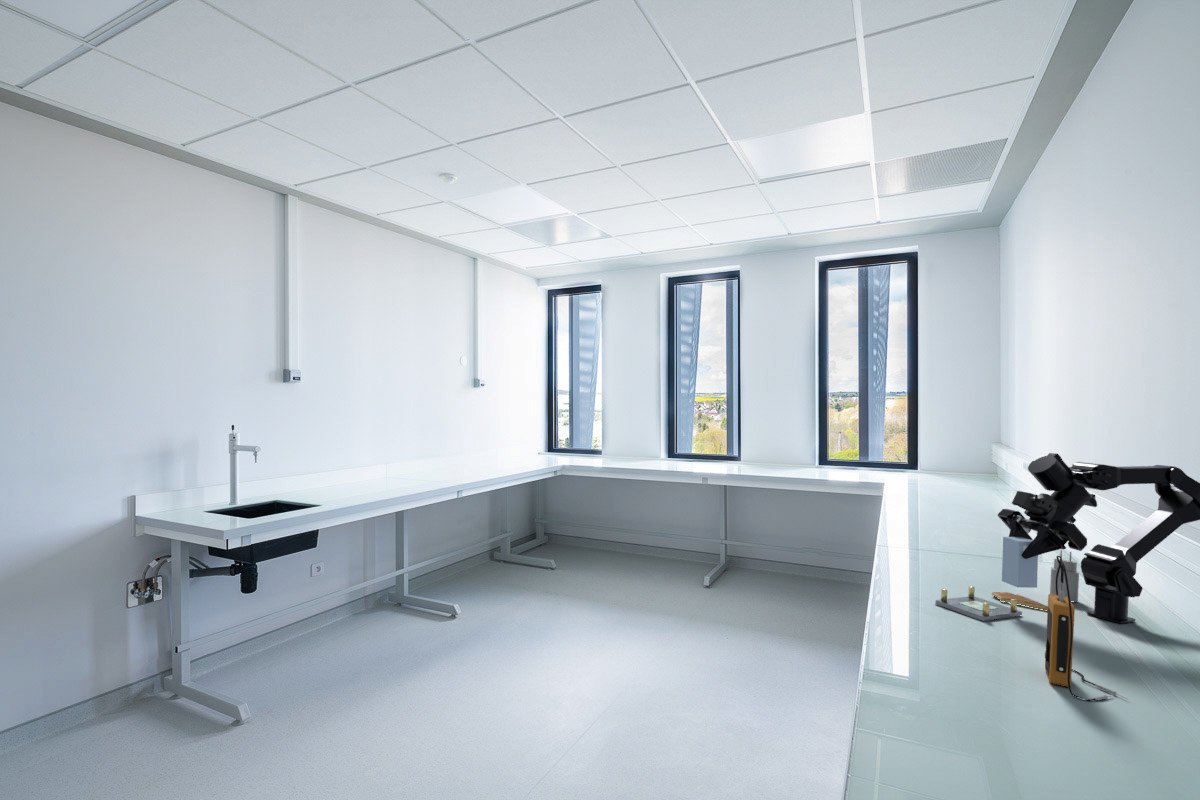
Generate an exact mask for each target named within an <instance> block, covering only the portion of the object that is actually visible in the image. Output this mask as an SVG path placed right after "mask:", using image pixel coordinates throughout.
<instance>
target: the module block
mask: <svg viewBox="0 0 1200 800" xmlns="http://www.w3.org/2000/svg"><path fill="white" fill-rule="evenodd" d="M1033 540H1034V539H1033ZM1033 540H1030V539H1027V538H1023V537H1009V536H1002V563H1001V564H1002V567H1001V582H1003V583H1005V584H1009V585H1011V586H1013V587H1016V588H1027V589H1028V588H1033V589H1034V588H1038V567H1039V566H1038V564H1039V561H1038V559H1039V555H1037V556H1034V557H1031V558H1028V559H1024V558H1023V557H1022V553H1023V552H1024V551H1025V549H1026V548H1027V547H1028V546H1029V544H1030V543H1031V542H1032V541H1033Z"/></svg>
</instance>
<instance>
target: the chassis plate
mask: <svg viewBox="0 0 1200 800" xmlns="http://www.w3.org/2000/svg"><path fill="white" fill-rule="evenodd" d="M975 590H976V589H975V586H972V585H969V586H968V594H967V596H961V597H952V598H948V589H945V588H941V590H940V591H941V593H940V599H936V600H935V606H938V605H939V606H938V607H941V606H942V607H941V608H944V607H945V608H944V609H947V608H948V610H949V609H951V610H950V611H952V610H954V611H953V612H955V611H956V612H955V613H958V614H962V615H964V616H967V617H969V618H972V619H975V620H978V621H980V620H982V621H981V622H983V621H984V622H989V621H988V620H992V621H997V620H996V619H999V620H1003V619H1002V618H1006V619H1010V618H1009V617H1013V618H1016V617H1015V616H1020V615H1022V616H1023V612H1022V611H1020V610H1018V606H1017V600H1015V599H1011V604H1009V605H1010V607H1009V606H1005V605H1002V604H1000V603H996V602H994V601H990V600H986V599H984V598H980V597H978V596H975ZM1020 617H1021V616H1020ZM994 619H995V620H994Z"/></svg>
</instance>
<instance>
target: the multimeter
mask: <svg viewBox="0 0 1200 800" xmlns="http://www.w3.org/2000/svg"><path fill="white" fill-rule="evenodd" d="M1055 559H1057V560H1058V563H1059V567H1058V570H1057V575H1056V594H1057V595H1053V594H1050V593H1049V594H1048V595H1047V596H1048V597H1047V606H1048V612H1047V617H1046V637H1045V652H1044V669H1045V670H1046V671H1045V672H1046V676H1047V678H1048V682H1049V684H1052V683H1053V684H1052V685H1056V684H1057V685H1056V686H1060V685H1061V687H1064V686H1066V688H1068V690H1069V693H1070V695H1072V696H1073V695H1074V696H1073V697H1075V696H1076V697H1075V698H1077V697H1080V698H1082V697H1081V696H1079V695H1076V694H1074V693H1073V690H1072V689H1071V687H1072V673H1073V672H1074V671H1075V672H1074V673H1076V672H1077V673H1076V674H1078V675H1080V676H1081V681H1084V682H1085V683H1088V684H1091V685H1092V686H1095V687H1096V688H1099V689H1100V690H1103V691H1105V692H1107V693H1110V694H1109V695H1107V694H1103V695H1100V696H1096V697H1094V698H1091V699H1088V700H1094V701H1095V700H1098V701H1101V700H1102V699H1103V700H1108V699H1109V697H1114V696H1119V697H1121V698H1124V699H1126V700H1129V698H1128V697H1126V696H1124V695H1122V694H1120V693H1117V691H1116V690H1112V689H1111V688H1110V689H1109V688H1107V687H1105V686H1103V685H1100V684H1097V683H1094V682H1091V681H1088V680H1086V679H1084V678H1085V676H1084V675H1083V673H1081V672H1079V671H1078V670H1076V669H1073V655H1074V654H1073V652H1074V651H1073V649H1074V631H1075V628H1074V627H1075V612H1076V611H1075V606H1074V603H1072V602H1071V601H1070V594H1069V586H1068V580H1067V574H1066V569H1065V565H1064V563H1063V562H1062V559H1063V557H1062V558H1061V556H1060V555H1057V556H1056V557H1055ZM1059 559H1060V561H1059ZM1061 563H1062V565H1061ZM1060 568H1061V581H1060V589H1059V595H1058V587H1057V582H1058V574H1059V570H1060ZM1064 574H1065V580H1066V586H1067V594H1068V597H1064V589H1063V588H1064V587H1063V586H1064V583H1063V579H1064ZM1072 670H1074V671H1072ZM1103 700H1102V701H1103Z"/></svg>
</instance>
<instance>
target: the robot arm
mask: <svg viewBox="0 0 1200 800" xmlns="http://www.w3.org/2000/svg"><path fill="white" fill-rule="evenodd" d="M1027 470H1028V472H1029V473H1030V474H1031V475H1032V476H1033V478H1034V479H1035V480H1036V481H1037V482H1038V483H1039V485H1041V487H1043V489H1044V490H1045V491H1049V492H1052V493H1051V494H1048V493H1044V492H1043V493H1039V494H1036V493H1035V494H1034V493H1031V492H1027V491H1021V490H1017V491H1016V493H1015V495H1014V497H1013V499H1012V501H1011V504H1012V505H1014V506H1018V507H1019V508H1021V509H1022V510H1024V511H1023V513H1024V514H1025V516H1027V517H1029V518H1025V516H1024V515H1023V514H1022V513H1021V512H1020V511H1019V510H1015V509H1014V510H1013V509H1009V508H1002V509H1001V510H1000V511H999V513H997V517H998V518H999V519H1000V520H1001V521H1002V522H1003V524H1004V525H1005V526H1007V528H1008V529H1009V535H1008V537H1023V538H1027V539H1030V540H1033V541H1032V542H1031V543H1030V544H1029V546H1028V547H1027V548H1026V549H1025V551H1024V552H1023V553H1022V557H1023V558H1024V559H1028V558H1031V557H1034V556H1037V555H1038V556H1039V555H1044V554H1046V553H1050V552H1055V551H1059V550H1066V549H1067V546H1068V547H1069V548H1070V549H1071V550H1076V551H1079V552H1082V551H1083V550H1084V549H1085V548H1086V547H1087V545H1088V538H1087V537H1086V536H1085V535H1084V534H1083V533H1082V531H1081V530H1080V529H1079V528H1078V527H1077V526H1076V524H1075V523H1076V521H1077V519H1076V518H1075V517H1074V516H1075V515H1076V514H1077V513H1078V512H1079V511H1080V510H1081V509H1082V508H1083V507H1084V506H1087V507H1094V508H1096V507H1097V506H1098V502H1097V500H1096V494H1093V493H1091V492H1089V491H1088V490H1087V489H1091V490H1098V491H1108V490H1113V489H1116V488H1118V487H1120V486H1123V485H1141V484H1142V485H1145V484H1147V485H1148V484H1151V485H1152V484H1154V491H1155V493H1156V494H1157V495H1158V496H1159V498H1158V506H1157V507H1158V508H1157V509H1156V510H1155V511H1154V512H1153V513H1152V514H1150V515H1149V516H1148V517H1147V518H1145V519H1144V520H1143V521H1142V522H1140V524H1138V525H1137V526H1135V528H1134V529H1132V530H1131V531H1130V532H1128V533H1127V534H1126V535H1124V537H1122V538H1121V539H1120V540H1118V542H1116V543H1115V544H1114V545H1112V546H1107V545H1103V544H1100V543H1099V544H1098V543H1097V544H1096V545H1094V546H1093V547H1092V549H1091V550H1089V551H1088V552H1085V553H1083V555H1084V557H1083V558H1082V559H1081V561H1080V568H1081V572H1082V576H1083V580H1084V583H1085V585H1088V586H1091V587H1093V588H1094V589H1095V590H1094V606H1093V608H1094V609H1093V610H1088V611H1086V613H1085V614H1086V615H1090V616H1093V617H1095V618H1099V619H1102V620H1107V621H1109V622H1113V623H1116V624H1120V625H1123V624H1127V623H1133V622H1136V619H1135V618H1133V617H1131V616H1129V598H1135V597H1138V598H1139V597H1140V596H1141V593H1142V591H1143V586H1142V585H1141V584H1140V582H1139V581H1138V580H1137V579H1136V578H1135V575H1136V573H1137V563H1138V562H1139V561H1140V560H1142V559H1143V557H1145V556H1147V554H1149V553H1150V552H1151V551H1152V550H1153V549H1155V548H1156V547H1157V546H1159V544H1161V542H1163V541H1164V540H1166V539H1167V538H1168V537H1169V536H1170V535H1171V534H1173V533H1174V532H1175V531H1176V530H1178V529H1179V528H1180V527H1181V526H1182V525H1184V524H1185V525H1186V524H1188V523H1193V522H1197V521H1200V482H1199V481H1197V480H1195V479H1194V478H1193V477H1191V476H1188V475H1187V474H1186V473H1185V472H1184V471H1183V469H1181V468H1180V467H1178V466H1173V465H1161V464H1156V465H1141V466H1135V465H1134V466H1133V465H1131V466H1115V465H1108V464H1103V463H1102V464H1101V463H1093V462H1092V463H1091V462H1082V461H1078V462H1073V463H1072V466H1068V465H1067V463H1066V462H1065V461H1064V460H1063V458H1062V457H1061V455H1060V454H1059V453H1056V452H1055V453H1054V452H1049V453H1048V454H1047V455H1045V456H1041V457H1038V458H1036V459H1035V460H1033V461H1031V462H1030V463H1029V465H1028V466H1027ZM1031 531H1035V532H1036V536H1035V538H1034V539H1033V537H1032V536H1031V535H1029V533H1030V532H1031ZM1066 544H1067V546H1065V545H1066Z"/></svg>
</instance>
